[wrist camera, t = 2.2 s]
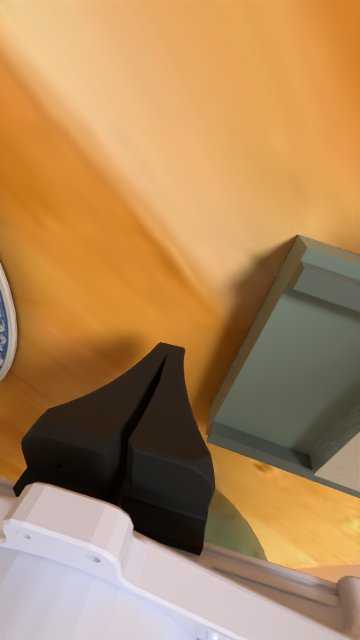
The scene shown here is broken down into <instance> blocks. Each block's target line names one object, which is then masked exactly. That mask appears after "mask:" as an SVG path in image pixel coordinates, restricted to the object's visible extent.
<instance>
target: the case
mask: <svg viewBox="0 0 360 640" xmlns="http://www.w3.org/2000/svg"><path fill="white" fill-rule="evenodd" d="M359 398H360V255H358V254H355V253H352V252H349V251H346V250H343V249H340V248H337V247H334V246H331V245H328V244H325V243H322V242H319V241H316V240H313V239H310V238H307V237H304V236H301V235H298V236H297V238H296V240H295V242H294V244H293V245H292V247H291V249H290V251H289V253H288V255H287V257H286V259H285V261H284V263H283V265H282V267H281V269H280V271H279V273H278V275H277V277H276V279H275V281H274V283H273V285H272V287H271V289H270V291H269V292H268V294H267V296H266V298H265V300H264V302H263V304H262V306H261V308H260V310H259V312H258V314H257V316H256V318H255V320H254V322H253V324H252V326H251V328H250V330H249V332H248V334H247V336H246V338H245V340H244V341H243V343H242V345H241V347H240V349H239V351H238V353H237V355H236V357H235V359H234V361H233V363H232V365H231V367H230V369H229V371H228V373H227V375H226V377H225V379H224V381H223V383H222V385H221V387H220V388H219V390H218V392H217V394H216V396H215V398H214V400H213V402H212V404H211V406H210V410H209V417H208V424H207V431H206V434H207V435H208V438H207V442H209V443H212V444H214V445H217V446H220V447H222V448H225V449H228V450H230V451H233V452H236V453H239V454H241V455H244V456H247V457H249V458H252V459H255V460H258V461H260V462H263V463H266V464H268V465H271V466H274V467H277V468H279V469H282V470H285V471H287V472H290V473H293V474H296V475H298V476H301V477H304V478H306V479H309V480H312V481H314V482H317V483H320V484H323V485H325V486H328V487H331V488H333V489H336V490H339V491H342V492H344V493H347V494H350V495H352V496H355V497H358V498H360V492H359V491H356V490H353V489H351V488H348V487H345V486H343V485H340V484H337V483H334V482H332V481H329V480H326V479H324V478H321V477H318V476H315V475H313V471H312V466H311V461H310V457H309V452H308V451H309V450H310V449H311V448H312V447H313V446H314V445H315V443H316V442H317V441H318V440H319V439H320V438H321V437H322V436H323V435H324V434H325V433H326V432H327V431H328V430H329V429H330V428H331V427H332V426H333V425H334V424H335V423H336V422H337V421H338V420H339V419H340V417H341V416H342V415H343V414H344V413H345V412H346V411H347V410H348V409H349V408H350V407H351V406H352V405H353V404H354V403H355V402H356V401H357V400H358V399H359Z"/></svg>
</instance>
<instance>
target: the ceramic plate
mask: <svg viewBox="0 0 360 640" xmlns="http://www.w3.org/2000/svg"><path fill="white" fill-rule="evenodd" d="M16 346H17V323H16V312H15V308H14V304H13V300H12V296H11V292H10V288H9V285H8V282H7V279H6V276H5V273H4V271H3V268H2V265H1V263H0V381H1V380H2V379H3V378H4V376H5V375H6V374H7V372H8V371H9V369H10V367H11V365H12V362H13V359H14V357H15V352H16Z"/></svg>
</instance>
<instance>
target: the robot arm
mask: <svg viewBox="0 0 360 640" xmlns="http://www.w3.org/2000/svg"><path fill="white" fill-rule="evenodd" d="M184 354H185V349H184V348H183V347H179V346H174V345H170V344H166V343H162V342H160V343H158V345H157V346H156V347H155V348H154V349H153V350H152V351H151V352H150V353H149V354H147V355H146V356H145V357H144V358H143V359H142V360H141V361H139V362H138V363H137V364H136V365H135V366H133V367H132V368H131V369H129V370H128V371H127V372H125V373H124V374H123V375H121V376H120V377H118V378H117V379H115V380H114V381H112V382H110V383H109V384H107V385H105V386H103V387H101V388H100V389H98V390H96V391H94V392H92V393H90V394H87V395H85V396H83V397H81V398H78V399H76V400H73V401H71V402H68V403H65V404H62V405H59V406H56V407H53V408H50V409H48V410H47V411H46V412H45V413H44V414H43V415H42V416H41V417H40V418H39V419H38V420H37V421H36V422H35V424H34V425H33V426H32V427H31V429H30V430H29V431H28V432H27V434H26V435H25V436H24V437H23V439H22V442H21V445H22V451H23V454H24V458H25V461H26V464H27V469H26V470H25V471H24V473H23V474H22V476H21V477H20V478H19V480H18V481H17V482H14V481H11V480H8V479H5V478H1V477H0V640H360V578H359V577H354V576H345V577H342V578H341V579H340V580H339V581H338V582H337V583H334V582H331V581H328V580H325V579H321V578H319V577H315V576H312V575H309V574H306V573H302V572H299V571H296V570H293V569H290V568H287V567H284V566H280V565H277V564H274V563H271V562H268V561H265V560H261V559H258V558H255V557H252V556H249V555H246V554H242V553H239V552H236V551H233V550H230V549H227V548H223V547H220V546H217V545H214V544H211V543H208V542H204V536H205V526H206V522H207V518H208V509H209V506H210V503H211V501H212V498H213V496H214V492H215V477H214V469H213V463H212V458H211V454H210V452H209V450H208V448H207V446H206V444H205V442H204V440H203V438H202V436H201V434H200V431H199V429H198V426H197V424H196V421H195V418H194V416H193V413H192V410H191V407H190V403H189V399H188V395H187V390H186V385H185V378H184V366H183V361H184ZM120 504H121V506H120Z"/></svg>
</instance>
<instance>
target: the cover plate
mask: <svg viewBox="0 0 360 640" xmlns="http://www.w3.org/2000/svg"><path fill="white" fill-rule="evenodd" d="M308 452H309V457H310V461H311V466H312V471H313V475H315V476H318V477H321V478H324V479H326V480H329V481H332V482H334V483H337V484H340V485H343V486H345V487H348V488H351V489H353V490H356V491H359V492H360V398H359V399H358V400H357V401H356V402H355V403H354V404H353V405H352V406H351V407H350V408H349V409H348V410H347V411H346V412H345V413H344V414H343V415H342V416H341V417H340V419H339V420H338V421H337V422H336V423H335V424H334V425H333V426H332V427H331V428H330V429H329V430H328V431H327V432H326V433H325V434H324V435H323V436H322V437H321V438H320V439H319V440H318V441H317V442H316V443H315V445H314V446H313V447H312V448H311V449H310V450H309V451H308Z"/></svg>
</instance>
